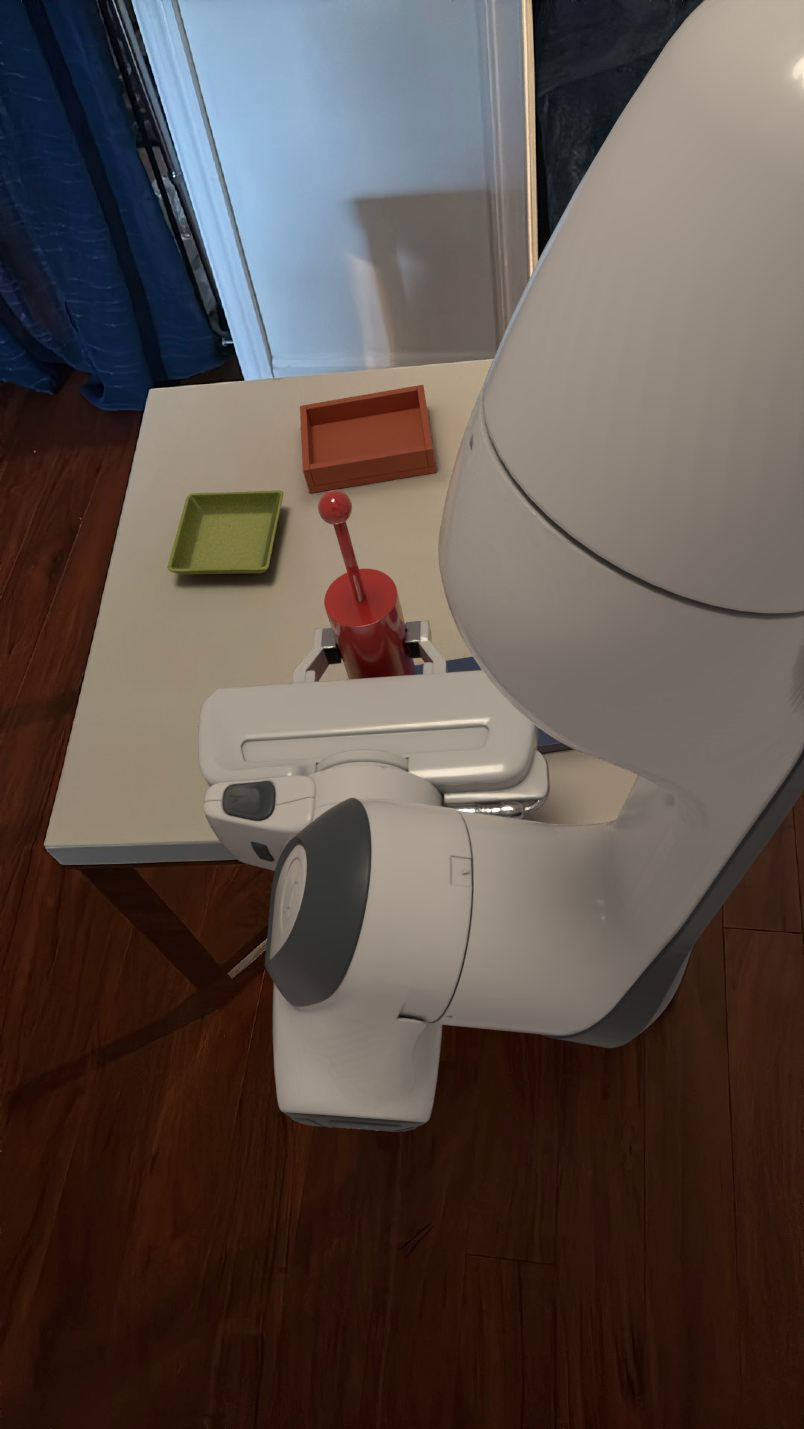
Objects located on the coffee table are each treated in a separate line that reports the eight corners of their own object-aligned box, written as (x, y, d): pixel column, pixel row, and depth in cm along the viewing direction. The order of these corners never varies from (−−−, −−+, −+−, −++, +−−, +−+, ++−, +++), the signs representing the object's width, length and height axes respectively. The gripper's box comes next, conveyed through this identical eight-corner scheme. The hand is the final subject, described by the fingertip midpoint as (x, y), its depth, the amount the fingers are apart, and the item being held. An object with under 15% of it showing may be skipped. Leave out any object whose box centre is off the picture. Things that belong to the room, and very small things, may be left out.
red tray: (427, 408, 95) (423, 384, 92) (436, 472, 90) (432, 448, 88) (306, 429, 95) (299, 405, 93) (309, 493, 91) (302, 470, 89)
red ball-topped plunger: (416, 658, 71) (370, 459, 55) (422, 712, 68) (376, 519, 53) (352, 668, 71) (289, 472, 56) (356, 722, 69) (291, 533, 53)
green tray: (273, 585, 86) (267, 569, 84) (173, 586, 87) (165, 570, 86) (289, 506, 90) (284, 489, 89) (194, 509, 92) (187, 492, 90)
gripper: (550, 792, 54) (536, 585, 62) (174, 812, 57) (204, 611, 64) (553, 843, 60) (540, 647, 67) (209, 859, 62) (232, 669, 70)
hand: (372, 630), depth 66 cm, fingers closed on red ball-topped plunger, 4 cm apart
